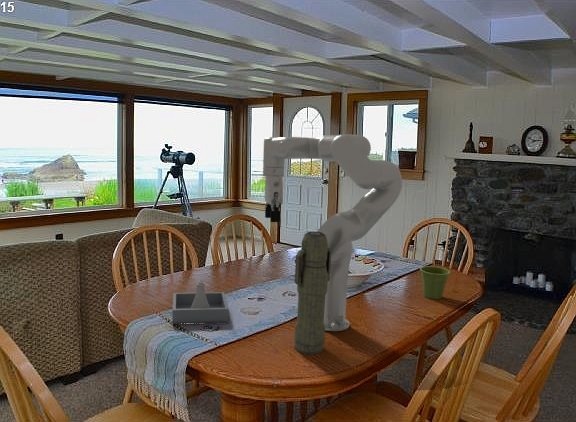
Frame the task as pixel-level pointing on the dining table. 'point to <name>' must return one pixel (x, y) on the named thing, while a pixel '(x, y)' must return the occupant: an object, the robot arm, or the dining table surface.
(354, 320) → the dining table surface
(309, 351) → the grey stone statue
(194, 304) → the flask
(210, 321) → the bin
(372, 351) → the dining table surface
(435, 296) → the plant pot
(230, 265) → the dining table surface
